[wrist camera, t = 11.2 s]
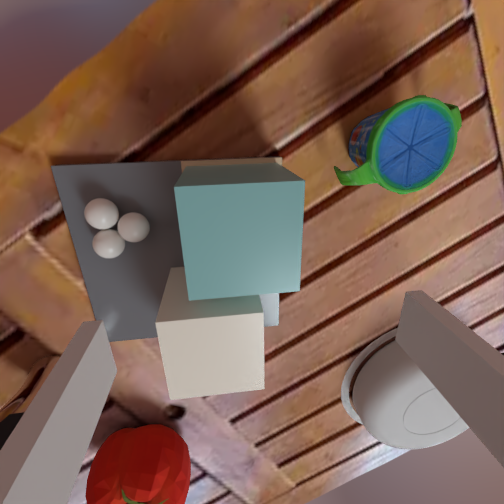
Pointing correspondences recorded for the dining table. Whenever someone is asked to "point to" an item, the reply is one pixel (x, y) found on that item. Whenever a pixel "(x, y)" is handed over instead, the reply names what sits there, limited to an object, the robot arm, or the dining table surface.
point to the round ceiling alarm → (398, 399)
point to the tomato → (140, 468)
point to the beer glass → (29, 386)
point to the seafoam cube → (240, 229)
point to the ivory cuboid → (209, 341)
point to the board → (135, 253)
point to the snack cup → (403, 145)
